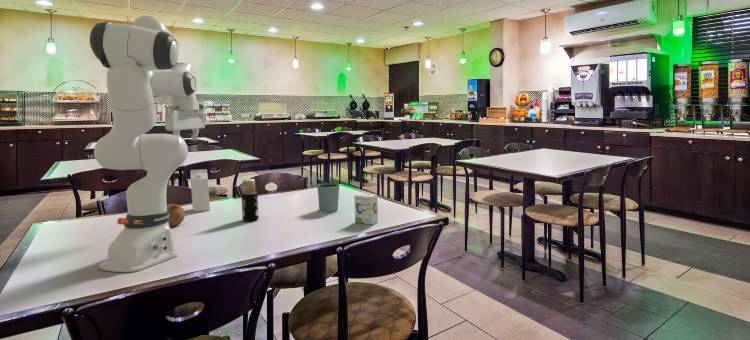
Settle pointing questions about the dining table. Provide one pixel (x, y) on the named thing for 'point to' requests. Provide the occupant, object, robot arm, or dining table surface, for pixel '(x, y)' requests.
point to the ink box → (366, 208)
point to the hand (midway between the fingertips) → (187, 141)
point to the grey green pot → (328, 197)
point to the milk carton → (200, 190)
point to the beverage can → (249, 206)
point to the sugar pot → (249, 186)
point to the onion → (175, 214)
